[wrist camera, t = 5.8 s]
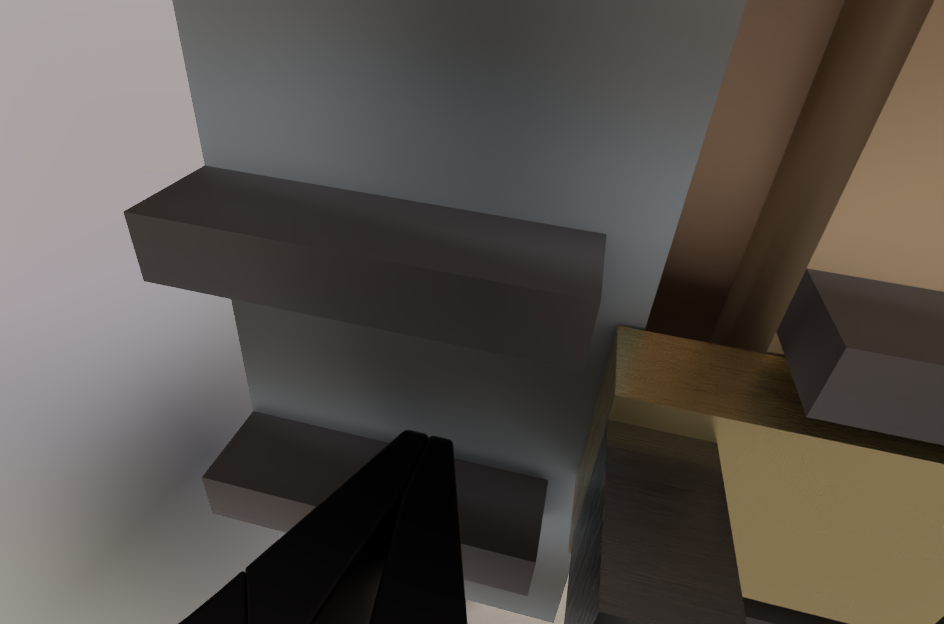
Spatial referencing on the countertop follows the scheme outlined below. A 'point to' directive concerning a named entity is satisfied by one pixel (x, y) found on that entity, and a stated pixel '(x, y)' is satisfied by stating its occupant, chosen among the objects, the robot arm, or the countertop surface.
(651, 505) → the yellow and black block
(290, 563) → the robot arm
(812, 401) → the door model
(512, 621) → the countertop surface
